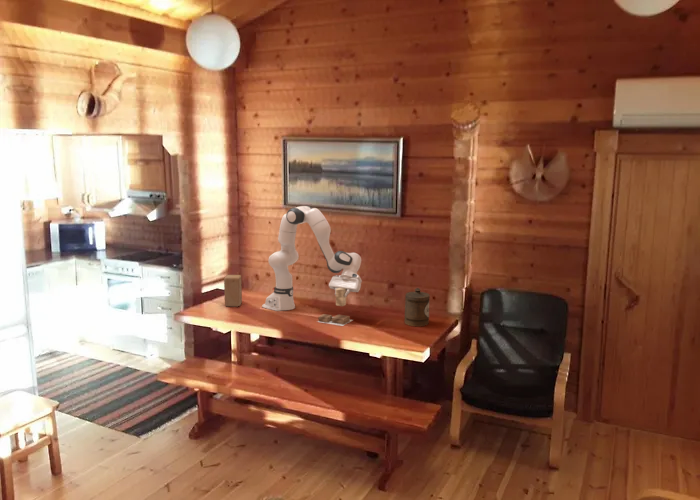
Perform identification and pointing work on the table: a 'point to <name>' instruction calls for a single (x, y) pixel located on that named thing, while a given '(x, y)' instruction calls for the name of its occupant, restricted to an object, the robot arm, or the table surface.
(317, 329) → the table surface
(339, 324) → the blueprint board
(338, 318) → the walnut slab
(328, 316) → the walnut block
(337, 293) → the birch pillar
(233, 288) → the wooden block
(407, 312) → the wooden container
